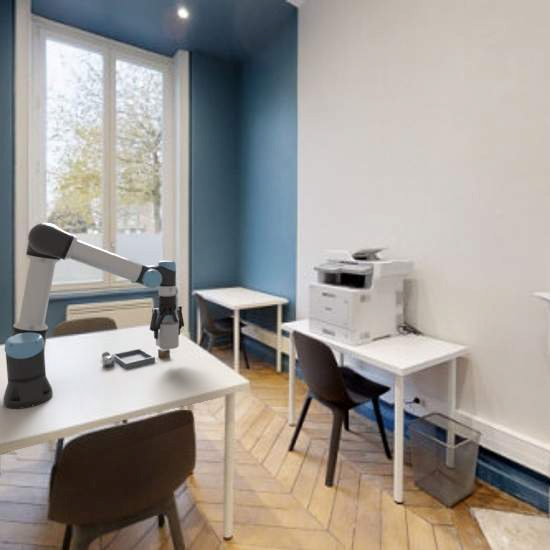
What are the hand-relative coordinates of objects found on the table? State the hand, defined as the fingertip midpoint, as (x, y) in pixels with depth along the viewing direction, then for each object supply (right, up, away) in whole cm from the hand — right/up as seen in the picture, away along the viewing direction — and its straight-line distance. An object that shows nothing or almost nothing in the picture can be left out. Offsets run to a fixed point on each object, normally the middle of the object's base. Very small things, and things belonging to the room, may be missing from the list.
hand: (167, 343), depth 179 cm
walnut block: (-4, -8, +9) cm, 13 cm away
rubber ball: (-31, -7, +6) cm, 32 cm away
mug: (0, -1, +1) cm, 1 cm away
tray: (-17, -9, +4) cm, 20 cm away
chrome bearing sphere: (-26, -10, -2) cm, 28 cm away
